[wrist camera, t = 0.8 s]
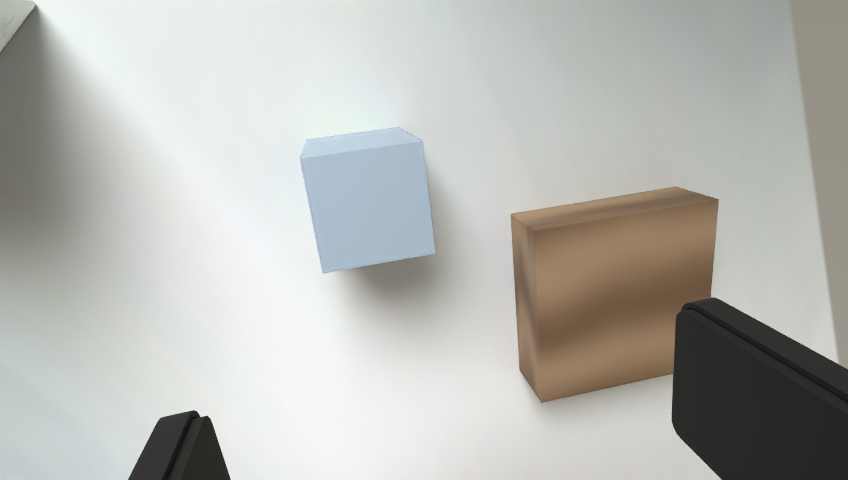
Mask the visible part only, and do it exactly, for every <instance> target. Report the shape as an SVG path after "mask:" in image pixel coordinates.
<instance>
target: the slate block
mask: <svg viewBox="0 0 848 480" xmlns="http://www.w3.org/2000/svg"><path fill="white" fill-rule="evenodd" d="M300 161H301V166H302V171H303V176H304V181H305V186H306V191H307V196H308V201H309V206H310V211H311V216H312V221H313V226H314V231H315V236H316V241H317V246H318V251H319V257H320V262H321V267H322V272H323V273H328V272H334V271H340V270H346V269H351V268H357V267H363V266H368V265H374V264H380V263H385V262H391V261H397V260H402V259H408V258H414V257H419V256H425V255H431V254H436V253H435V244H434V236H433V227H432V218H431V210H430V201H429V192H428V184H427V175H426V167H425V158H424V149H423V141H422V140H420V139H419V138H417V137H415V136H414V135H412V134H410V133H409V132H407V131H405V130H404V129H402V128H400V127H395V128H388V129H381V130H373V131H366V132H359V133H352V134H344V135H337V136H330V137H322V138H315V139H308V140H307V141H306V144H305V146H304V149H303V152H302V154H301V157H300Z"/></svg>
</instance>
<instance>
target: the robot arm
mask: <svg viewBox="0 0 848 480" xmlns="http://www.w3.org/2000/svg"><path fill="white" fill-rule="evenodd" d="M672 423H673V427H674V429H675V431H676V433H677V434H678V436H679V437H680V438H681V439H682V440H683V441H684V442H685V443H686V444H687V445H688V446H689V447H690V448H691V449H692V450H693V451H694V452H695V453H696V454H697V455H698V456H699V457H700V458H701V459H702V460H703V461H704V462H705V463H706V464H707V465H708V466H709V467H710V468H711V469H712V470H713V471H714V472H715V473H716V474H717V475H718V476H719V477H720V478H721V479H722V480H848V369H846V368H844V367H842V366H840V365H839V364H837V363H835V362H833V361H831V360H829V359H828V358H826V357H824V356H822V355H820V354H818V353H817V352H815V351H813V350H811V349H809V348H807V347H806V346H804V345H802V344H800V343H798V342H796V341H795V340H793V339H791V338H789V337H787V336H785V335H784V334H782V333H780V332H778V331H776V330H774V329H773V328H771V327H769V326H767V325H765V324H763V323H762V322H760V321H758V320H756V319H754V318H752V317H750V316H749V315H747V314H745V313H743V312H741V311H739V310H738V309H736V308H734V307H732V306H730V305H728V304H727V303H725V302H723V301H721V300H719V299H717V298H707V299H703V300H698V301H693V302H689V303H686V304H684V305H683V307H682V309H681V312H679V313H678V314H677V316H676V322H675V347H674V372H673V397H672ZM128 480H231V479H230V476H229V473H228V470H227V467H226V464H225V461H224V458H223V455H222V452H221V449H220V446H219V443H218V440H217V436H216V433H215V430H214V427H213V424H212V422H211V419H210V418H209V417H208V416H204V417H200V415H199V414H198V412H197V411H194V410H193V411H189V412H184V413H180V414H175V415H170V416H166V417H162V418H160V419H159V421H158V422H157V424H156V426H155V428H154V430H153V432H152V434H151V436H150V438H149V440H148V441H147V443H146V445H145V447H144V449H143V451H142V453H141V455H140V457H139V459H138V461H137V463H136V465H135V467H134V469H133V471H132V473H131V475H130V477H129V479H128Z"/></svg>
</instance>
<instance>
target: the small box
mask: <svg viewBox="0 0 848 480" xmlns="http://www.w3.org/2000/svg"><path fill="white" fill-rule="evenodd" d="M34 6H35V3H34V2H33V1H32V0H0V52H1V51H2V50H3V48H4V47H5V46H6V44H7V43H8V42H9V40H10V39H11V38H12V36H13V35H14V34H15V32H16V31H17V30H18V28H19V27H20V25H21V24H22V23H23V21H24V20H25V18H26V17H27V16H28V15H29V13H30V12H31V11H32V9H33V8H34Z"/></svg>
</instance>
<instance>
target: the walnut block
mask: <svg viewBox="0 0 848 480" xmlns="http://www.w3.org/2000/svg"><path fill="white" fill-rule="evenodd" d="M718 201H719V199H716V198H712V197H709V196H705V195H702V194H699V193H695V192H692V191H688V190H685V189H682V188H678V187H672V188H666V189H660V190H654V191H648V192H641V193H635V194H629V195H623V196H617V197H611V198H605V199H599V200H593V201H587V202H581V203H575V204H568V205H562V206H556V207H550V208H544V209H538V210H532V211H526V212H520V213H514V214H511V227H512V245H513V262H514V280H515V297H516V315H517V332H518V350H519V367H520V371H521V373H522V374H523V376H524V377H525V379H526V380H527V382H528V383H529V385H530V386H531V388H532V389H533V391H534V392H535V394H536V395H537V397H538V398H539V400H540V401H541V403H542V402H547V401H551V400H556V399H560V398H565V397H569V396H574V395H578V394H583V393H587V392H592V391H596V390H601V389H605V388H610V387H614V386H619V385H623V384H628V383H632V382H637V381H641V380H646V379H650V378H655V377H659V376H664V375H668V374H673V372H674V347H675V322H676V316H677V314H678V313H679V312H681V309H682V307H683V305H684V304H686V303H689V302H693V301H698V300H703V299H707V298H710V296H711V284H712V272H713V260H714V248H715V236H716V224H717V212H718Z"/></svg>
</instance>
